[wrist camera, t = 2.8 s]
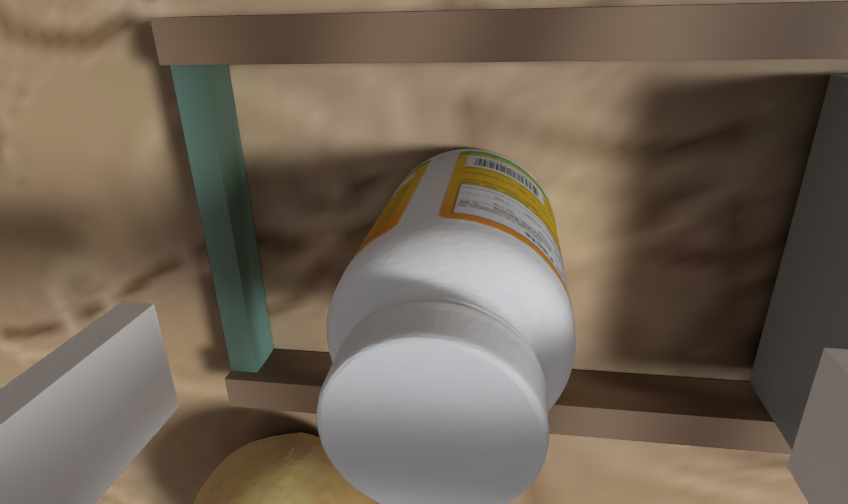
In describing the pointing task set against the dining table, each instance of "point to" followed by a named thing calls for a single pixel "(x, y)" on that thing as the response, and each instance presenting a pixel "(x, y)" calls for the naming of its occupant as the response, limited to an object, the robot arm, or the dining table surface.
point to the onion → (279, 475)
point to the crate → (809, 275)
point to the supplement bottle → (449, 338)
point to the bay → (463, 42)
